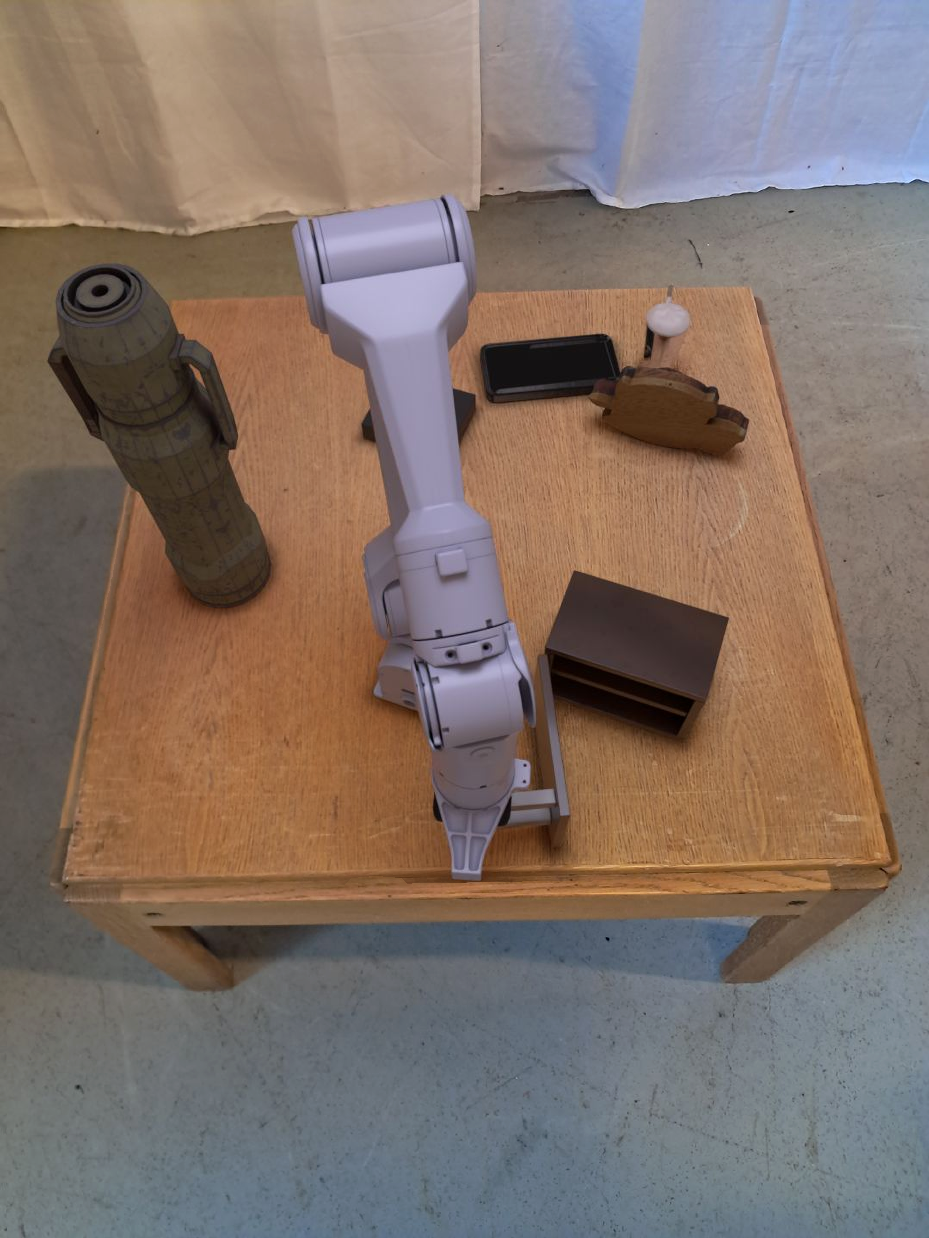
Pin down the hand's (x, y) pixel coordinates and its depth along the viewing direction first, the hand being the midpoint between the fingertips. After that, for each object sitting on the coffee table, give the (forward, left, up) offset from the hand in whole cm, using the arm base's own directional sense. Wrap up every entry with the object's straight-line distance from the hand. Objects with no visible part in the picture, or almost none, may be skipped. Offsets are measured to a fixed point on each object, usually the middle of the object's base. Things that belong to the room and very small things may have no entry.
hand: (474, 808), depth 72 cm
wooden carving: (+47, -4, -6) cm, 47 cm away
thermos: (+16, +32, -6) cm, 36 cm away
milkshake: (+56, -1, -6) cm, 56 cm away
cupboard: (+18, -8, -6) cm, 20 cm away
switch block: (+40, +21, -6) cm, 45 cm away
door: (+6, -2, -6) cm, 8 cm away
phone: (+52, +10, -6) cm, 53 cm away
